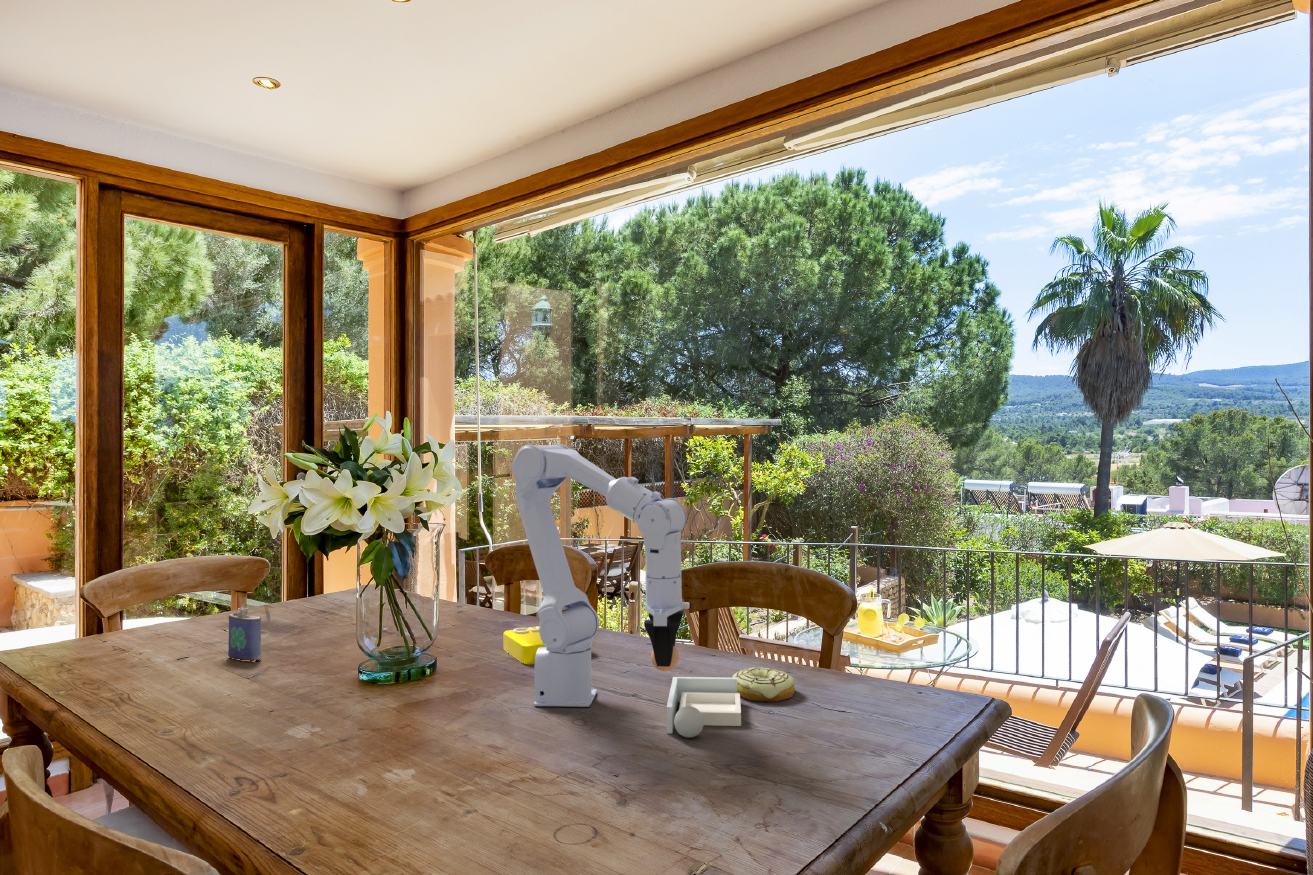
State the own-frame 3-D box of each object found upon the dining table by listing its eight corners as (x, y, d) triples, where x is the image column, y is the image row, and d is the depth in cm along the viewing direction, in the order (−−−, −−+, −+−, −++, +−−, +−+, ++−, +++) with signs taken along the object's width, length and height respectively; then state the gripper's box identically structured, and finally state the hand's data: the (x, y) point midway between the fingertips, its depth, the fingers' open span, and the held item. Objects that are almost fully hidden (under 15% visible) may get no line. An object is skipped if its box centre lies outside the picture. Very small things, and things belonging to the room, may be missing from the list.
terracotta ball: (649, 674, 122) (649, 646, 122) (652, 666, 126) (652, 639, 126) (677, 674, 121) (677, 646, 121) (679, 666, 126) (679, 639, 126)
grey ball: (673, 741, 114) (673, 711, 114) (675, 730, 118) (674, 701, 118) (703, 742, 113) (703, 712, 114) (704, 731, 118) (703, 702, 118)
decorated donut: (777, 709, 128) (777, 686, 128) (721, 697, 134) (721, 675, 134) (804, 691, 136) (804, 670, 136) (750, 681, 143) (750, 660, 143)
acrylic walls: (666, 733, 117) (666, 706, 117) (673, 700, 132) (673, 676, 132) (739, 734, 116) (738, 708, 116) (737, 701, 131) (736, 677, 131)
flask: (264, 660, 160) (263, 608, 160) (250, 663, 158) (250, 610, 158) (236, 654, 165) (236, 604, 165) (223, 658, 162) (222, 606, 162)
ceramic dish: (678, 724, 121) (678, 711, 121) (682, 703, 130) (682, 691, 130) (741, 725, 120) (740, 712, 120) (739, 704, 129) (739, 692, 129)
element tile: (525, 668, 154) (524, 643, 154) (500, 650, 167) (500, 628, 167) (594, 656, 161) (593, 633, 161) (565, 641, 174) (565, 619, 174)
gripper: (685, 583, 116) (687, 675, 116) (690, 568, 131) (692, 649, 131) (639, 583, 117) (640, 674, 117) (649, 568, 131) (650, 649, 131)
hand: (665, 661), depth 124 cm, fingers closed on terracotta ball, 4 cm apart
